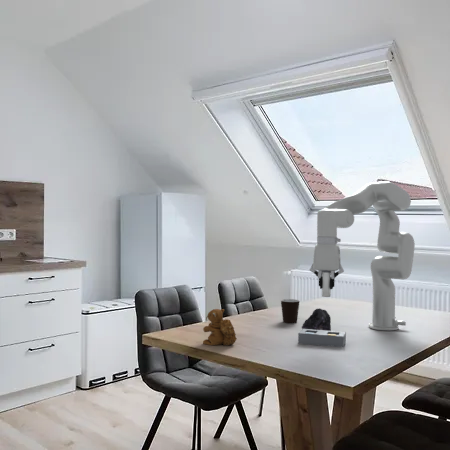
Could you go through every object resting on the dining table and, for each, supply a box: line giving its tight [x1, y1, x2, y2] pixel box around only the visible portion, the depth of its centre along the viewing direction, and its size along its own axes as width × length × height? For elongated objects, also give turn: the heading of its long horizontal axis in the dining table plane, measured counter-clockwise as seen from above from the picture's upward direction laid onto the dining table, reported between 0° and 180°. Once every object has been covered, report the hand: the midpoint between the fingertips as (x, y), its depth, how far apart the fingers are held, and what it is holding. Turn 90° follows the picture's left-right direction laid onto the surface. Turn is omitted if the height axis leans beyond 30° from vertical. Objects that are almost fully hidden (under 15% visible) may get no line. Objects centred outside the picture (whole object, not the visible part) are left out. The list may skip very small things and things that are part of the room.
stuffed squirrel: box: [202, 308, 238, 347], centre depth 209 cm, size 10×14×13 cm
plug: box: [321, 270, 332, 298], centre depth 213 cm, size 3×3×11 cm
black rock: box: [301, 308, 332, 331], centre depth 234 cm, size 13×14×10 cm
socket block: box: [297, 328, 347, 348], centre depth 212 cm, size 17×8×4 cm, turn 71°
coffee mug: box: [280, 298, 300, 324], centre depth 254 cm, size 12×9×10 cm
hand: (326, 288), depth 213 cm, fingers closed on plug, 3 cm apart
